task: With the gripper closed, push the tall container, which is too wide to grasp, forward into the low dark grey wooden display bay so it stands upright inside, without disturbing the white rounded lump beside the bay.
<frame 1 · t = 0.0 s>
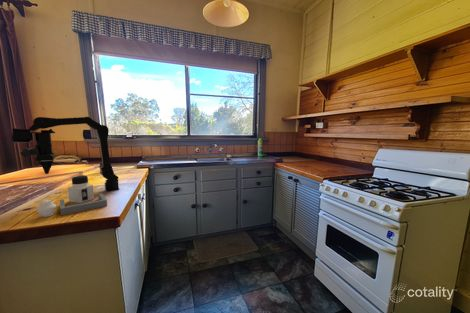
hand: (47, 172, 100), 15 cm above the countertop, tool pointing down, fingers open, 9 cm apart
white rounded lump: (47, 215, 84), on the countertop
display bay: (83, 205, 95), on the countertop
container: (81, 200, 103), on the countertop
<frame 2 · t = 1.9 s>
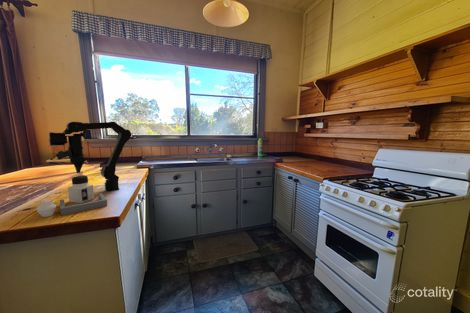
hand: (78, 173, 108), 13 cm above the countertop, tool pointing down, fingers closed
nothing on the countertop moved.
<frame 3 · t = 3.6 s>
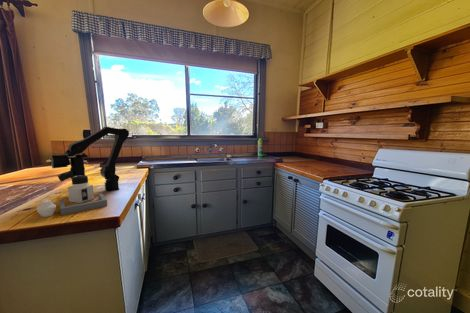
hand: (80, 193, 109), 2 cm above the countertop, tool pointing down, fingers closed, pressing on container
container: (81, 200, 103), on the countertop, touching gripper
everything else where it was.
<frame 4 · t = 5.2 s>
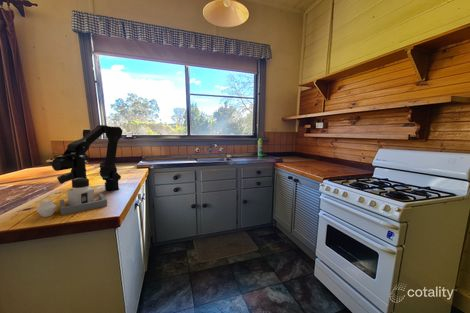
hand: (80, 196, 102), 2 cm above the countertop, tool pointing down, fingers closed, pressing on container
container: (81, 204, 97), on the countertop, touching gripper
everything else where it was.
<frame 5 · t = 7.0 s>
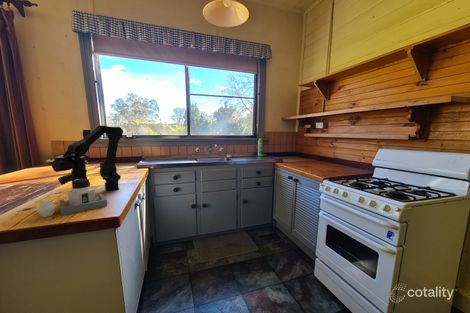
hand: (81, 196, 103), 1 cm above the countertop, tool pointing down, fingers closed
container: (82, 205, 96), on the countertop
everything else where it was.
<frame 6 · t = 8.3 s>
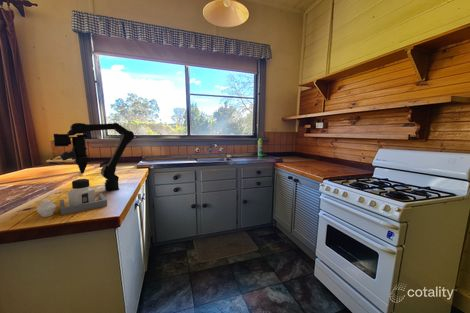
hand: (82, 173, 110), 12 cm above the countertop, tool pointing down, fingers closed
nothing on the countertop moved.
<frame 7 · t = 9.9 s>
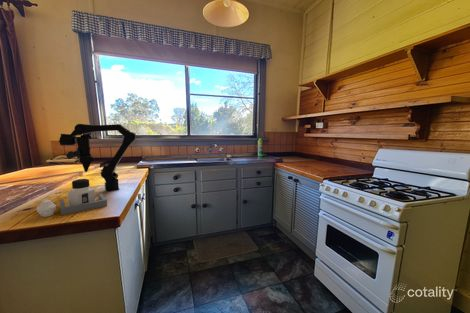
hand: (86, 171, 115), 12 cm above the countertop, tool pointing down, fingers closed
nothing on the countertop moved.
at the end: container inside the target area (0.6 cm from its centre), on the countertop; container tilted 0°; white rounded lump moved 0.2 cm from its start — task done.
